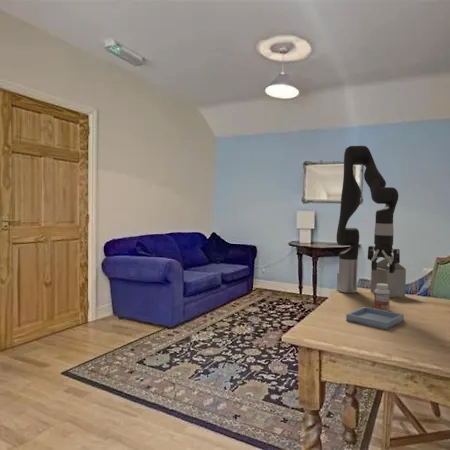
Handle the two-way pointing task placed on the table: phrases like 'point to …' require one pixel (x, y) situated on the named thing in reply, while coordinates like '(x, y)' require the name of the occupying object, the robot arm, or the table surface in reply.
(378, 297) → the pill bottle
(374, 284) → the planter
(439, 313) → the table surface
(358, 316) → the tray
